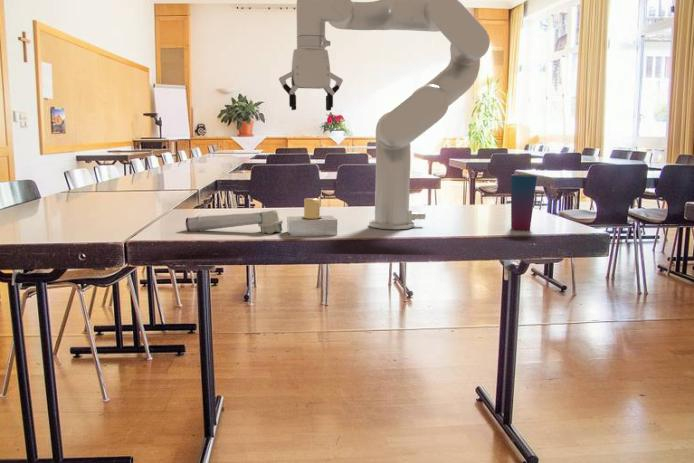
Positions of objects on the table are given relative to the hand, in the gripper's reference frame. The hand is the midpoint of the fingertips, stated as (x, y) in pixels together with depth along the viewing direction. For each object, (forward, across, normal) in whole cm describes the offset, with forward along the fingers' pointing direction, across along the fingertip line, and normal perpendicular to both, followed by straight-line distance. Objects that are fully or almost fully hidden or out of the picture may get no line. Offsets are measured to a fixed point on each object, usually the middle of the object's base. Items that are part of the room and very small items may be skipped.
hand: (311, 110), depth 160 cm
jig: (+32, +2, +12) cm, 34 cm away
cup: (+32, -55, +18) cm, 66 cm away
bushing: (+32, +2, +12) cm, 34 cm away
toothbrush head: (+32, +22, +4) cm, 39 cm away
